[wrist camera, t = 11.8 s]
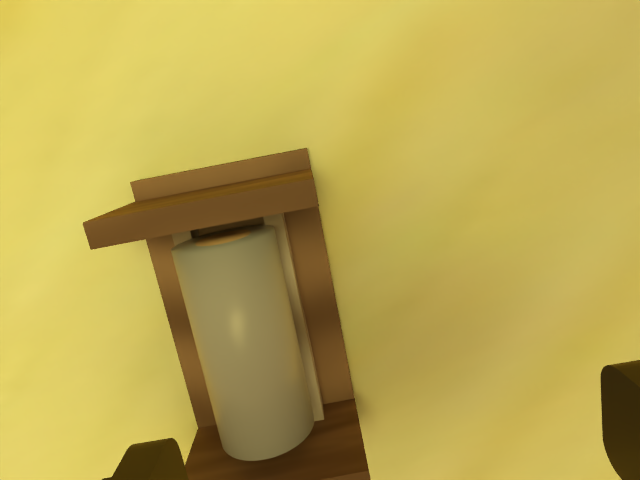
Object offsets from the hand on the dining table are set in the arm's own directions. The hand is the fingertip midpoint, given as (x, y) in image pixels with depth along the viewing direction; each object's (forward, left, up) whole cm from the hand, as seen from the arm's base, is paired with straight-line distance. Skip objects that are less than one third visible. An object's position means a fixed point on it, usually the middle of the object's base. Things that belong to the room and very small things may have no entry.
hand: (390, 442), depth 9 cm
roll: (+4, -5, -18) cm, 19 cm away
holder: (+4, -5, -20) cm, 21 cm away
